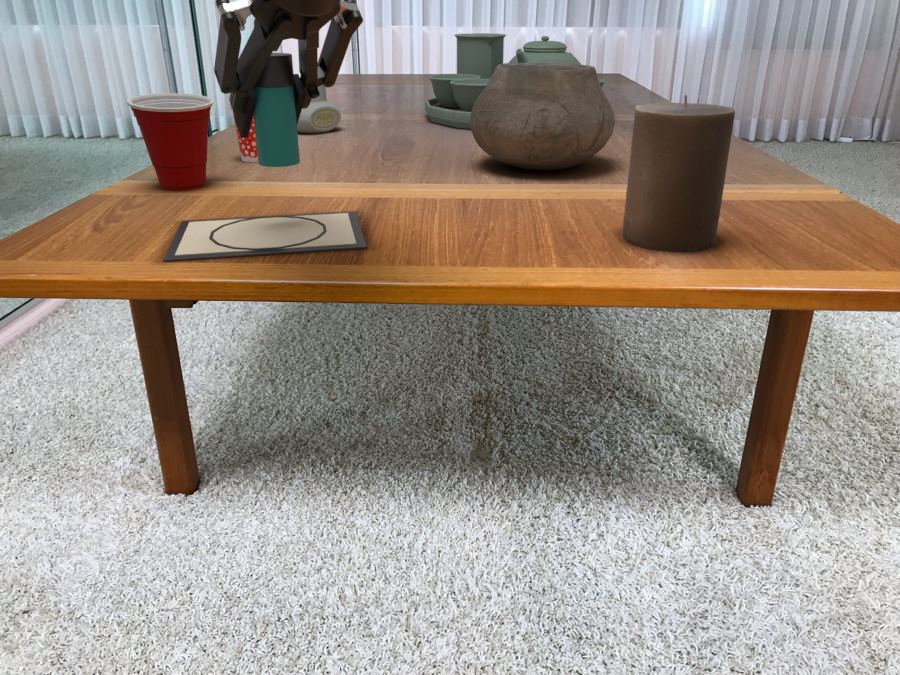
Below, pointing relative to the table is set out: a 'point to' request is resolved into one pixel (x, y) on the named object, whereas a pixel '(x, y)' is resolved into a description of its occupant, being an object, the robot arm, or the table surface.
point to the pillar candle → (677, 175)
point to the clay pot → (542, 115)
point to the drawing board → (265, 236)
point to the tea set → (482, 73)
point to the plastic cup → (175, 136)
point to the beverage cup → (247, 144)
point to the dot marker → (276, 113)
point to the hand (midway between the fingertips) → (264, 125)
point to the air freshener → (319, 115)
